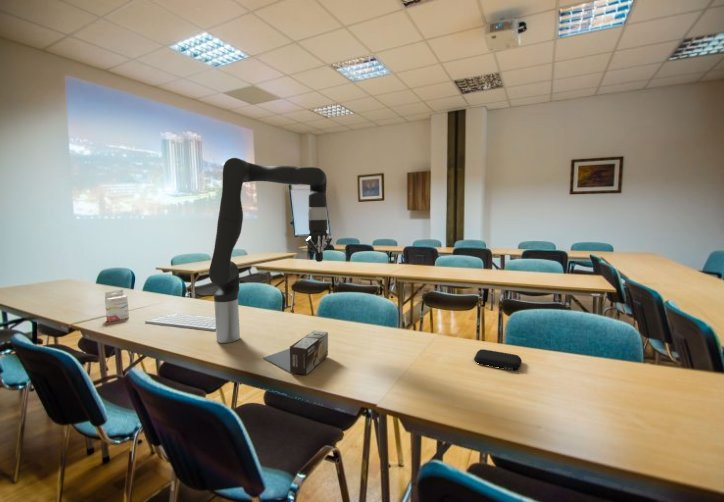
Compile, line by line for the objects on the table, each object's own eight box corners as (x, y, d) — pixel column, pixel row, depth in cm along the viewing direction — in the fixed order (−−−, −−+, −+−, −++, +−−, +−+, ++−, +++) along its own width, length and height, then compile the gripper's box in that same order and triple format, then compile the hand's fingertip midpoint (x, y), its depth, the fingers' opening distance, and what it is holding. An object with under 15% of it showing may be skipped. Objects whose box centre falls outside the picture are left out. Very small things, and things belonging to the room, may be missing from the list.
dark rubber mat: (263, 358, 124) (263, 357, 124) (293, 348, 133) (293, 347, 133) (292, 374, 111) (292, 372, 111) (322, 361, 121) (322, 360, 121)
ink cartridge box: (110, 322, 170) (107, 293, 169) (106, 320, 173) (103, 292, 172) (129, 317, 177) (127, 290, 176) (125, 316, 180) (123, 289, 179)
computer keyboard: (240, 321, 171) (240, 318, 171) (212, 333, 153) (212, 329, 153) (176, 313, 186) (176, 310, 185) (144, 324, 168) (144, 320, 168)
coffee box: (312, 329, 126) (289, 345, 111) (328, 331, 123) (306, 347, 108) (313, 353, 126) (289, 372, 111) (328, 356, 124) (306, 375, 109)
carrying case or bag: (472, 366, 116) (519, 375, 109) (472, 357, 116) (519, 366, 108) (477, 355, 125) (521, 362, 118) (478, 347, 125) (522, 354, 118)
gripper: (324, 218, 144) (325, 259, 146) (298, 219, 134) (300, 262, 136) (336, 218, 139) (337, 260, 141) (310, 219, 129) (311, 264, 131)
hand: (319, 261), depth 138 cm, fingers closed
